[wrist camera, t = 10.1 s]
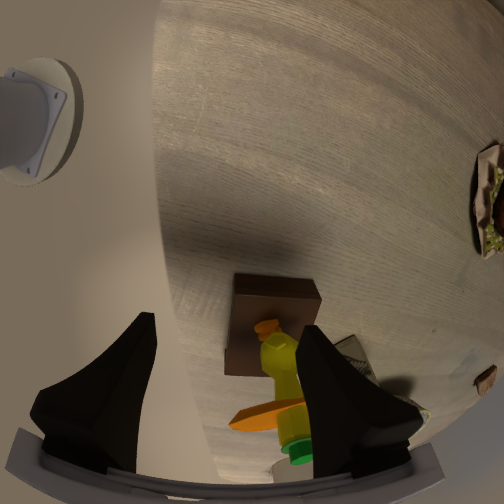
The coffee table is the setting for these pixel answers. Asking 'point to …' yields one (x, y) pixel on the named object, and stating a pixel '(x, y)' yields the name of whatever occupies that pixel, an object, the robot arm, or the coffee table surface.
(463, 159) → the coffee table surface
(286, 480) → the canister
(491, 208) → the bear figurine
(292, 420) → the toy figure
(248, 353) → the brown square plinth
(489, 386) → the notched wooden chunk
